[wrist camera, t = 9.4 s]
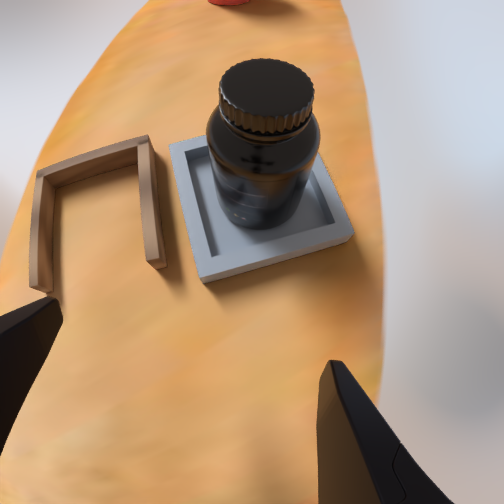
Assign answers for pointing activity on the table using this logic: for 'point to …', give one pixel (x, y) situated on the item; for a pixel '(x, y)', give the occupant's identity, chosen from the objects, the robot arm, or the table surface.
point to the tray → (247, 240)
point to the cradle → (80, 169)
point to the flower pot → (228, 2)
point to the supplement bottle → (262, 142)
